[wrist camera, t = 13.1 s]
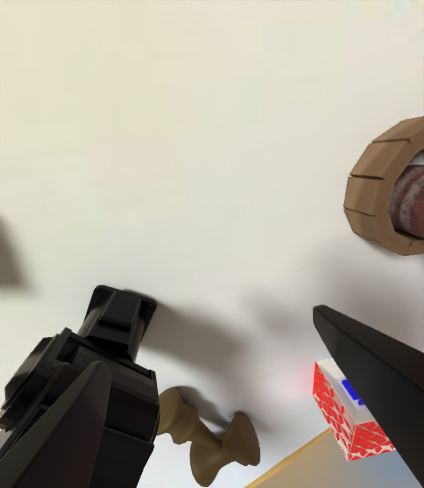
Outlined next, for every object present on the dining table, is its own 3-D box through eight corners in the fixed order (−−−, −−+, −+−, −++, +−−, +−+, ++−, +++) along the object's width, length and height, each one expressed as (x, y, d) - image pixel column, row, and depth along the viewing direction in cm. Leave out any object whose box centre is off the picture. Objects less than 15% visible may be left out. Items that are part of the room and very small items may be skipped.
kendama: (190, 367, 28) (266, 428, 35) (139, 399, 30) (221, 452, 37) (189, 417, 23) (279, 479, 30) (126, 453, 25) (225, 504, 31)
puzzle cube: (312, 394, 33) (347, 461, 26) (314, 360, 30) (356, 425, 23) (359, 384, 33) (408, 447, 26) (367, 349, 30) (424, 409, 23)
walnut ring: (399, 256, 24) (432, 271, 21) (322, 216, 21) (345, 226, 18) (482, 156, 21) (536, 155, 18) (403, 91, 18) (452, 75, 15)
